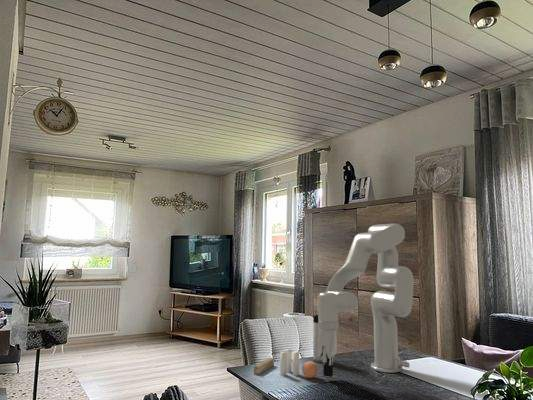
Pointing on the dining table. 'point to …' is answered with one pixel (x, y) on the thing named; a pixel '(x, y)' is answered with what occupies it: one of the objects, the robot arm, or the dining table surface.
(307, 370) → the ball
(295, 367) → the front pin
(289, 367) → the pin
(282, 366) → the pin
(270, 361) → the wooden bar
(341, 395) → the dining table surface
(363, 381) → the dining table surface
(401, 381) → the dining table surface
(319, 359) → the travel mug
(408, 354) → the dining table surface
